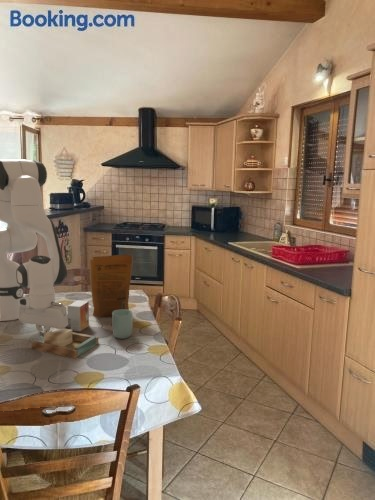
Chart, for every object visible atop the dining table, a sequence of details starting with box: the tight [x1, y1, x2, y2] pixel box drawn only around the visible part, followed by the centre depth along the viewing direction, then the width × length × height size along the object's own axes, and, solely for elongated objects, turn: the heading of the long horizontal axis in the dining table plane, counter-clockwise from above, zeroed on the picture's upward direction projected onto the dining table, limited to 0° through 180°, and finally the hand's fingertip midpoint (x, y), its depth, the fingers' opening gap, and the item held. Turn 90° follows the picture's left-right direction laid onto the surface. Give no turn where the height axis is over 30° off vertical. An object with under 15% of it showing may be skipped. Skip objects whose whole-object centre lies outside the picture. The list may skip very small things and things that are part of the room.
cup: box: [111, 309, 134, 340], centre depth 153 cm, size 8×8×10 cm
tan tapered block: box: [43, 328, 73, 347], centre depth 144 cm, size 6×8×5 cm
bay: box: [30, 331, 99, 359], centre depth 143 cm, size 19×14×3 cm
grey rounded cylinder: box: [65, 313, 74, 332], centre depth 154 cm, size 3×3×8 cm
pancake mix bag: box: [88, 254, 134, 318], centre depth 175 cm, size 7×19×28 cm, turn 105°
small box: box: [67, 300, 90, 333], centre depth 161 cm, size 8×6×10 cm
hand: (43, 336), depth 146 cm, fingers closed
